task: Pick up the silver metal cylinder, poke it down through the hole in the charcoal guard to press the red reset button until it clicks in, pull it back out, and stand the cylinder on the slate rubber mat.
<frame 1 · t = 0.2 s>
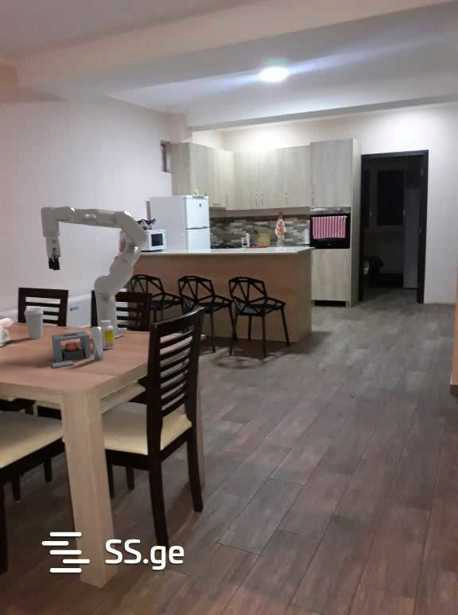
hand: (54, 269, 241), 37 cm above the table, tool pointing down, fingers open, 9 cm apart
reset button: (71, 346, 219), point 5 cm above the table, slide at 0.0 cm
guard: (72, 357, 220), on the table
coffee cup: (36, 337, 263), on the table
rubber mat: (62, 364, 208), on the table
supplement bottle: (107, 348, 236), on the table
silver metal cylinder: (98, 359, 215), on the table
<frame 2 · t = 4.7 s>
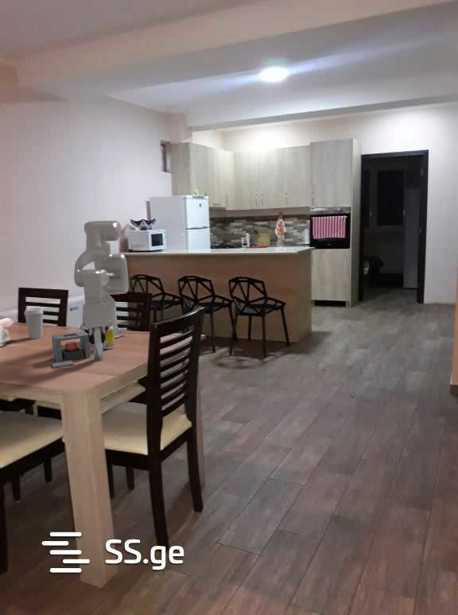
hand: (97, 342, 214), 7 cm above the table, tool pointing down, fingers closed on silver metal cylinder, 4 cm apart
silver metal cylinder: (98, 359, 215), on the table, touching gripper
everything else where it was.
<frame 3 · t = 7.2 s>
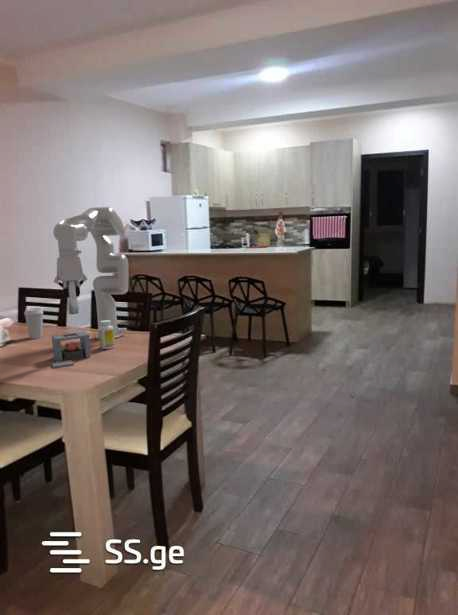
hand: (72, 296, 214), 27 cm above the table, tool pointing down, fingers closed on silver metal cylinder, 4 cm apart
silver metal cylinder: (73, 313, 216), point 20 cm above the table, touching gripper
everything else where it was.
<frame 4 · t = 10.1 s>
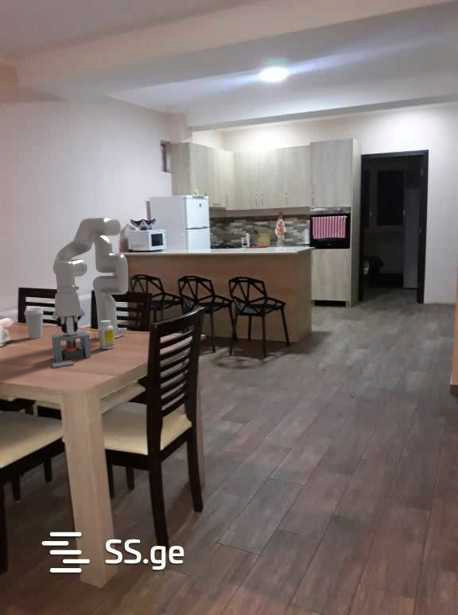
hand: (69, 331, 218), 12 cm above the table, tool pointing down, fingers closed on silver metal cylinder, 4 cm apart
reset button: (71, 351, 219), point 3 cm above the table, slide at 2.2 cm, touching silver metal cylinder
silver metal cylinder: (71, 348, 219), point 4 cm above the table, touching gripper, reset button
everything else where it was.
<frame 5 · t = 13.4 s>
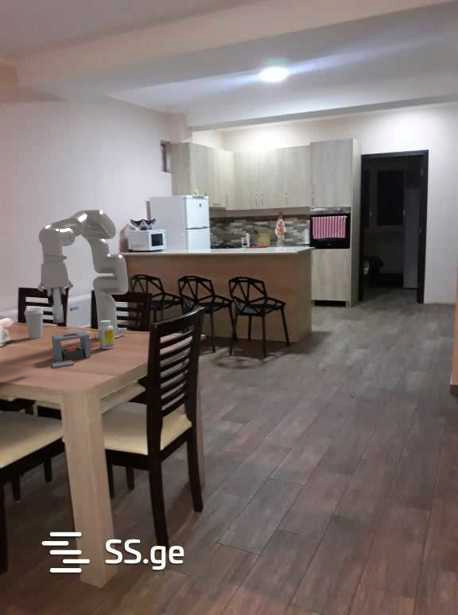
hand: (57, 304, 204), 25 cm above the table, tool pointing down, fingers closed on silver metal cylinder, 4 cm apart
reset button: (71, 351, 219), point 3 cm above the table, slide at 2.2 cm
silver metal cylinder: (58, 322, 205), point 18 cm above the table, touching gripper
everything else where it was.
when the fingers open (9 cm above the table, at t = 16.5 s): silver metal cylinder stays where it is, resting on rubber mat.
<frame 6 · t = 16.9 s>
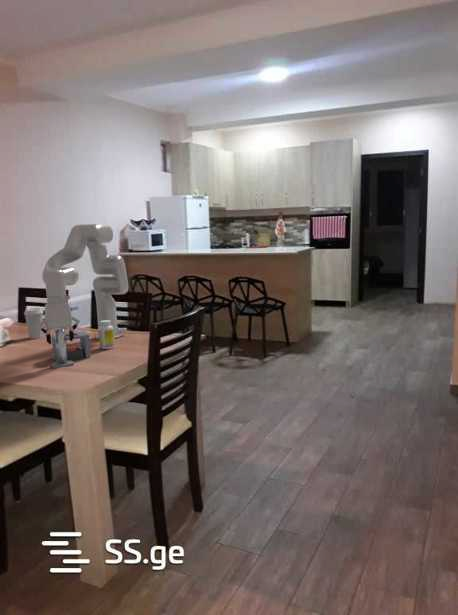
hand: (60, 341, 206), 10 cm above the table, tool pointing down, fingers open, 8 cm apart
silver metal cylinder: (62, 362, 208), point 1 cm above the table, touching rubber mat
everything else where it was.
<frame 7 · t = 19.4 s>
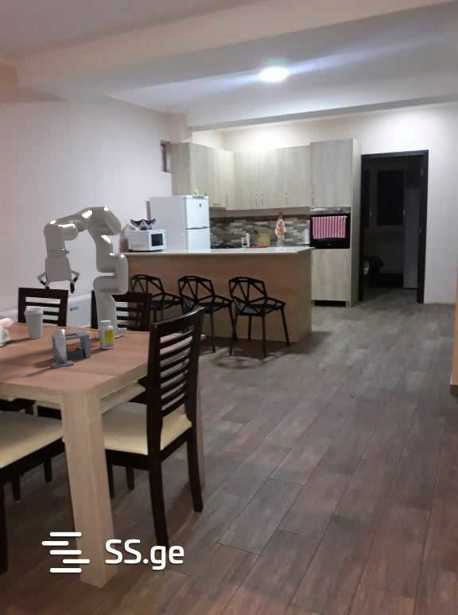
hand: (60, 294, 213), 28 cm above the table, tool pointing down, fingers open, 9 cm apart
nothing on the table moved.
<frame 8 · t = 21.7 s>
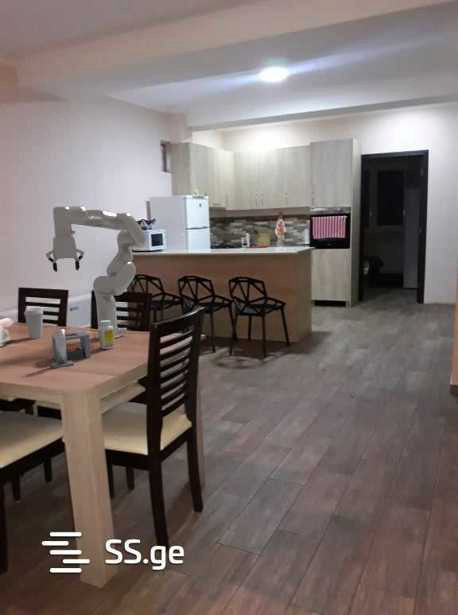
hand: (66, 270, 235), 36 cm above the table, tool pointing down, fingers open, 9 cm apart
nothing on the table moved.
at the end: reset button slide at 2.2 cm; silver metal cylinder inside the target area on the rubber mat (0.0 cm from its centre), point 0.8 cm above the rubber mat's base; silver metal cylinder tilted 0° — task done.
